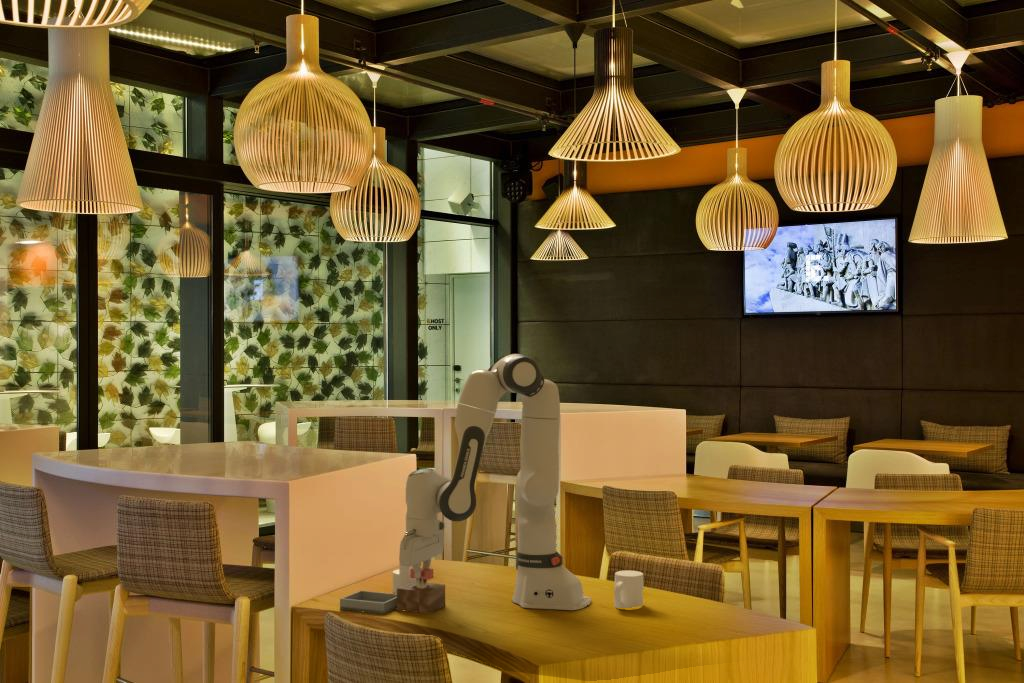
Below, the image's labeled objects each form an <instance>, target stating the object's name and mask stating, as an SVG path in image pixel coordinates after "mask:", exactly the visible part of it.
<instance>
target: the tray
mask: <svg viewBox="0 0 1024 683" xmlns="http://www.w3.org/2000/svg"><path fill="white" fill-rule="evenodd" d="M396 608H397V594H394V593H389V592H381V591H373V590H372V591H369V590H358V591H356V592H353V593H350V594H348V595H346V596H343V597H340V598H339V610H342V611H349V610H352V611H351V612H358V611H364V612H363V613H367V612H371V613H370V614H375V613H379V614H378V615H386V614H387V613H390V612H393V611H394V610H397V609H396Z"/></svg>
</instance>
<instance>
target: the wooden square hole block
mask: <svg viewBox="0 0 1024 683" xmlns="http://www.w3.org/2000/svg"><path fill="white" fill-rule="evenodd" d="M444 605H445V606H446V584H445V583H435V582H427V588H417V587H416V581H413V582H411V583H409V584H406V585H404V586H402V587H399V588H397V609H396V611H400V610H405V611H404V612H409V611H417V612H416V613H418V612H426V613H425V614H427V613H429V614H431V613H433V612H435V611H437V610H439V609H441V608H443V607H445V606H444ZM442 606H443V607H442ZM440 607H441V608H440ZM438 608H439V609H438ZM436 609H437V610H436ZM434 610H435V611H434ZM432 611H433V612H432ZM430 612H431V613H430Z"/></svg>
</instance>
